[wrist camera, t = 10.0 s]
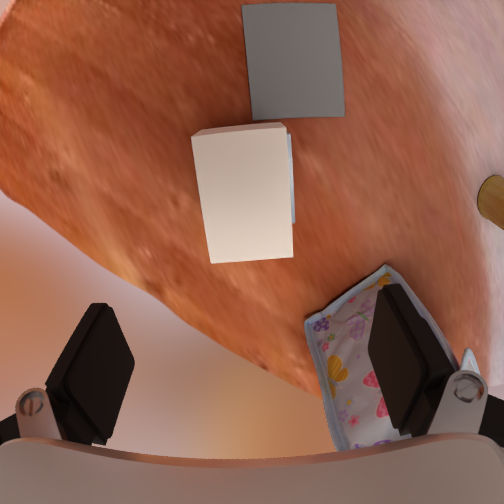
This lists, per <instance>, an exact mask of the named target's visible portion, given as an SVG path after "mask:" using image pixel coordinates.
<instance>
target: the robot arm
mask: <svg viewBox="0 0 504 504" xmlns="http://www.w3.org/2000/svg"><path fill="white" fill-rule="evenodd" d="M368 355H369V358H370V360H371V363H372V366H373V369H374V372H375V375H376V378H377V381H378V383H379V386H380V389H381V392H382V395H383V398H384V401H385V405H386V408H387V411H388V414H389V417H390V420H391V423H392V426H393V428H394V429H398V431H399V434H400V436H403V435H407V434H411V436H412V438H408V439H403V440H398V441H394V442H389V443H384V444H379V445H374V446H369V447H363V448H357V449H351V450H345V451H338V452H331V453H324V454H315V455H306V456H296V457H283V458H265V459H197V458H180V457H168V456H157V455H148V454H140V453H132V452H125V451H118V450H113V449H107V448H101V447H95V446H91V445H92V443H94V444H100V445H106V443H107V439H108V438H111V436H112V434H113V430H114V427H115V424H116V420H117V418H118V414H119V411H120V408H121V405H122V401H123V399H124V396H125V392H126V390H127V387H128V384H129V381H130V378H131V375H132V372H133V369H134V365H135V361H134V357H133V355H132V353H131V351H130V348H129V346H128V344H127V342H126V339H125V337H124V335H123V333H122V330H121V328H120V325H119V323H118V321H117V318H116V316H115V313H114V311H113V309H112V307H109V306H108V304H106V303H92V304H91V305H90V306H89V308H88V309H87V311H86V312H85V314H84V316H83V317H82V319H81V321H80V322H79V324H78V326H77V327H76V329H75V331H74V332H73V334H72V336H71V337H70V339H69V341H68V343H67V344H66V346H65V348H64V350H63V351H62V353H61V355H60V357H59V358H58V360H57V362H56V364H55V366H54V368H53V369H52V372H51V373H50V375H49V377H48V379H47V381H46V383H45V385H46V386H47V388H46V390H45V391H44V390H43V389H41V388H31V389H28V390H27V391H25V392H24V393H22V394H21V396H20V397H19V398H18V400H17V402H16V406H15V411H16V413H15V414H13V415H12V416H10V417H8V418H6V419H4V420H2V421H0V504H504V400H501V399H499V398H497V397H494V396H492V395H489V394H488V387H487V383H486V382H485V380H484V379H483V377H481V376H480V375H479V374H478V373H476V372H474V371H470V370H460V371H457V372H455V370H454V368H453V366H452V364H451V362H450V361H449V359H448V357H447V355H446V353H445V352H444V350H443V348H442V346H441V345H440V343H439V341H438V339H437V338H436V336H435V334H434V333H433V331H432V329H431V327H430V326H429V324H428V322H427V321H426V320H425V319H424V318H423V317H421V316H420V314H419V313H418V311H417V309H416V308H415V306H414V304H413V303H412V301H411V300H410V298H409V296H408V295H407V293H406V292H405V290H404V289H403V287H402V285H401V284H399V283H396V284H387V285H383V287H382V289H380V290H378V293H377V299H376V305H375V311H374V316H373V322H372V327H371V332H370V337H369V342H368Z"/></svg>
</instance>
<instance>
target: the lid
mask: <svg viewBox="0 0 504 504" xmlns="http://www.w3.org/2000/svg"><path fill="white" fill-rule="evenodd" d="M191 140H192V148H193V155H194V162H195V169H196V175H197V182H198V189H199V195H200V201H201V208H202V214H203V220H204V226H205V232H206V238H207V244H208V250H209V255H210V261H211V263H224V262H237V261H250V260H262V259H275V258H287V257H293V240H292V216H291V196H290V178H289V161H288V146H287V132H286V127H285V126H284V125H283V124H282V123H281V122H273V123H260V124H248V125H238V126H228V127H219V128H211V129H203V130H200V131H199V132H197V133H196V134H194V135H193V136H192V137H191Z"/></svg>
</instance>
